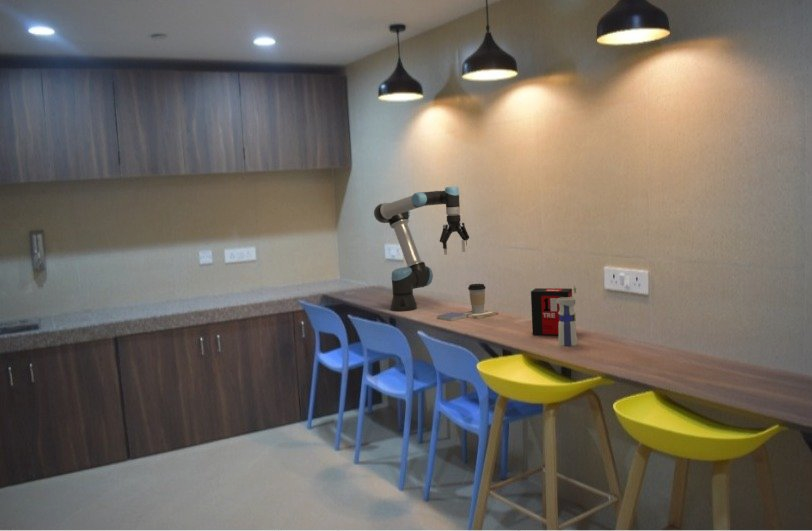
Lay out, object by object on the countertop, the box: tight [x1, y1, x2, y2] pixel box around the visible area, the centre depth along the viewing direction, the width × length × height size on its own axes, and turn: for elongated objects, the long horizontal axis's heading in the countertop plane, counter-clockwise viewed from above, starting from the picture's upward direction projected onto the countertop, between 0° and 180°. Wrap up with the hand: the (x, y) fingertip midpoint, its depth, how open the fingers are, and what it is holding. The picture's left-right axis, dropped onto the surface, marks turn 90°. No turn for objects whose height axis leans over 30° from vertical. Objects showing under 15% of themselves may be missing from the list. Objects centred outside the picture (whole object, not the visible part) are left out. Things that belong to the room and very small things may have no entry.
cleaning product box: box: [530, 287, 573, 337], centre depth 311 cm, size 16×9×20 cm, turn 66°
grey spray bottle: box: [557, 285, 578, 347], centre depth 290 cm, size 8×9×25 cm
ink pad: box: [436, 312, 468, 322], centre depth 363 cm, size 11×11×2 cm
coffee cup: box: [467, 283, 486, 314], centre depth 366 cm, size 9×9×15 cm
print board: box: [460, 309, 499, 320], centre depth 366 cm, size 15×15×1 cm
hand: (455, 253), depth 381 cm, fingers open, 13 cm apart
